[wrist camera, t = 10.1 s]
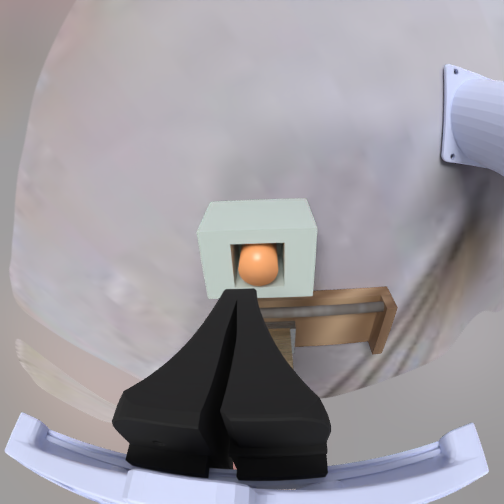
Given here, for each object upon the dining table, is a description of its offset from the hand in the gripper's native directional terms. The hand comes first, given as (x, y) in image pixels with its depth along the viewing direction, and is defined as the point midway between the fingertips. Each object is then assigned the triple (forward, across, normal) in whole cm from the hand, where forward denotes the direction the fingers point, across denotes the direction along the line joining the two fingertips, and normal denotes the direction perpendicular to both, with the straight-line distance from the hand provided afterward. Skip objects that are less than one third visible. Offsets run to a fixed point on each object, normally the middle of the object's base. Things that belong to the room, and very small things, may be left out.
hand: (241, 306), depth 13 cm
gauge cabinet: (+10, 0, +2) cm, 11 cm away
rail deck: (+10, -4, +10) cm, 15 cm away
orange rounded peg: (+8, 0, +2) cm, 8 cm away
